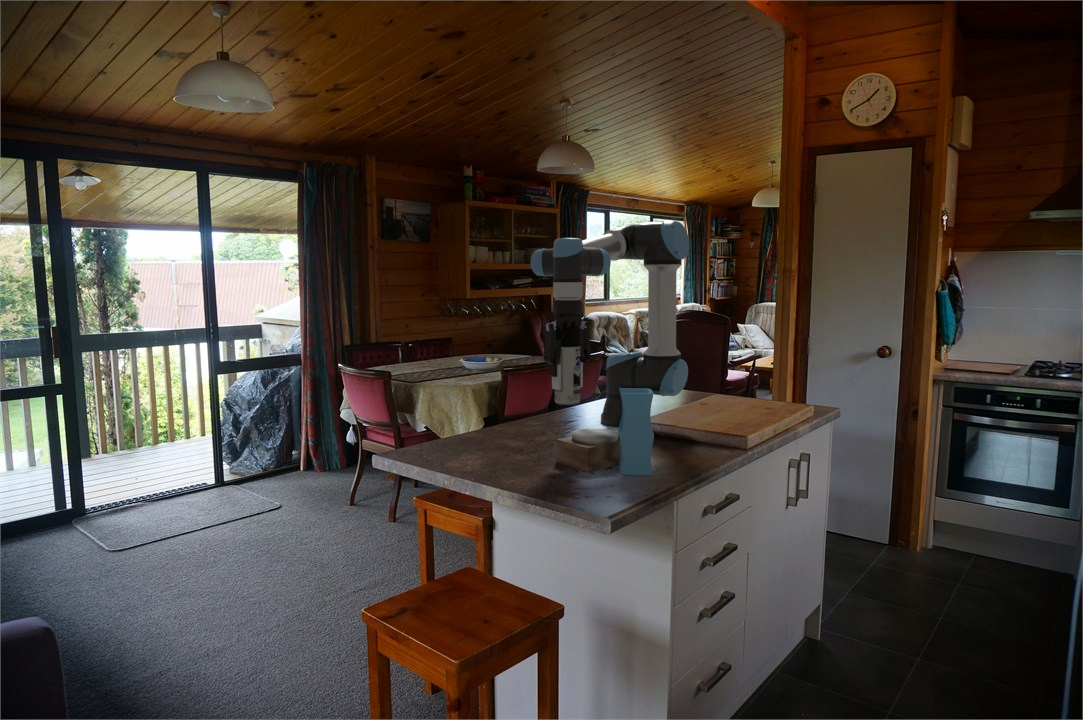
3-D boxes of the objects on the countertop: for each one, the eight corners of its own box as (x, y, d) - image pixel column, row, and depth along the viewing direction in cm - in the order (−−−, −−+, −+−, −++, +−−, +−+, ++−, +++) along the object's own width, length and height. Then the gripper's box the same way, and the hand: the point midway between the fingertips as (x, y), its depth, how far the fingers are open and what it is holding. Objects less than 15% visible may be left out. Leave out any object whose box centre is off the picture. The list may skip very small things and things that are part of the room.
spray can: (577, 405, 180) (578, 327, 177) (551, 404, 181) (552, 327, 179) (582, 401, 186) (582, 325, 184) (557, 400, 188) (557, 325, 185)
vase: (617, 466, 178) (618, 388, 175) (649, 466, 177) (650, 388, 175) (620, 475, 170) (621, 393, 168) (653, 475, 170) (654, 393, 167)
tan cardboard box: (601, 452, 192) (601, 425, 191) (633, 461, 182) (633, 433, 181) (556, 462, 182) (556, 433, 181) (587, 472, 172) (588, 442, 172)
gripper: (587, 298, 189) (586, 382, 192) (528, 299, 177) (528, 389, 180) (606, 298, 183) (605, 386, 186) (546, 300, 172) (546, 393, 174)
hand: (567, 387), depth 183 cm, fingers closed on spray can, 7 cm apart
